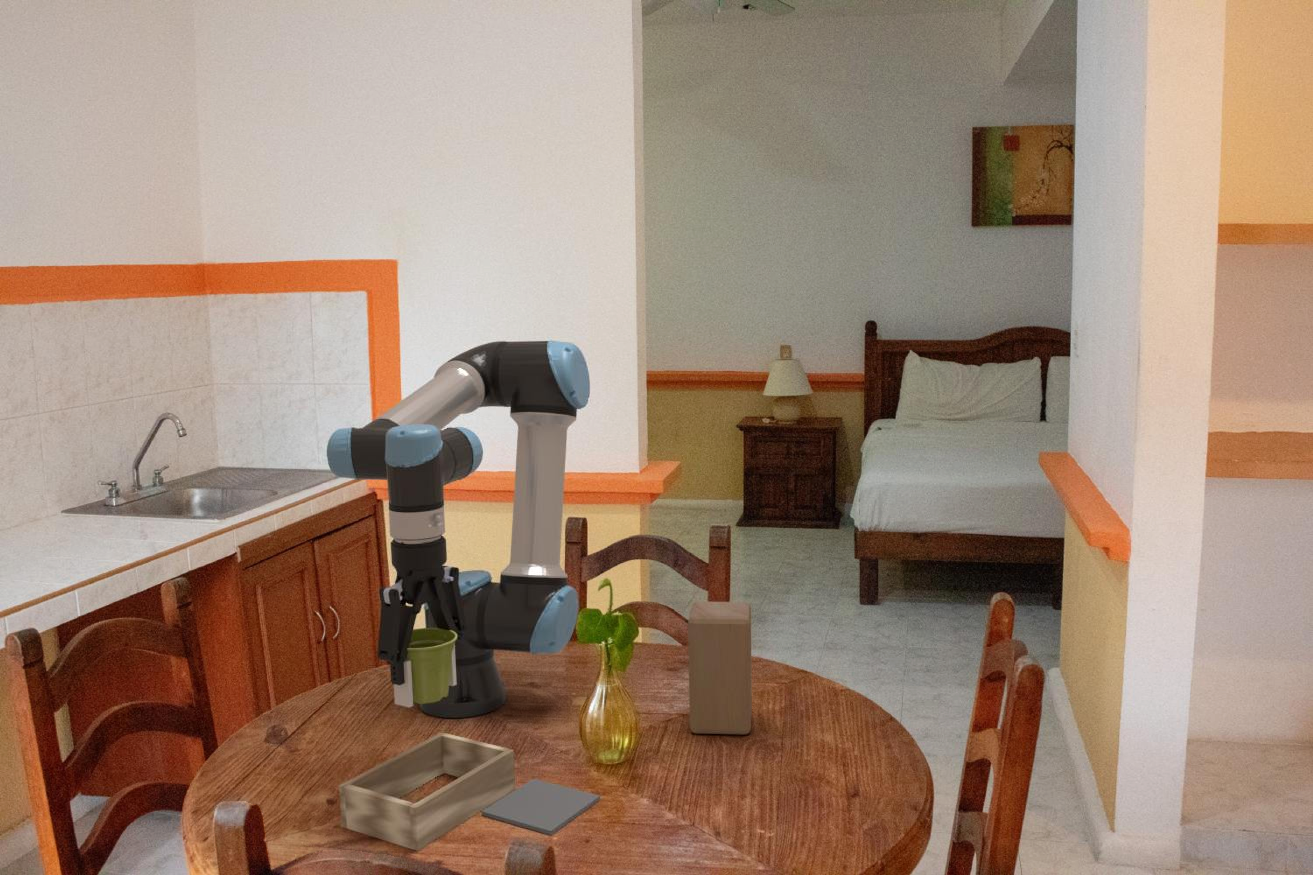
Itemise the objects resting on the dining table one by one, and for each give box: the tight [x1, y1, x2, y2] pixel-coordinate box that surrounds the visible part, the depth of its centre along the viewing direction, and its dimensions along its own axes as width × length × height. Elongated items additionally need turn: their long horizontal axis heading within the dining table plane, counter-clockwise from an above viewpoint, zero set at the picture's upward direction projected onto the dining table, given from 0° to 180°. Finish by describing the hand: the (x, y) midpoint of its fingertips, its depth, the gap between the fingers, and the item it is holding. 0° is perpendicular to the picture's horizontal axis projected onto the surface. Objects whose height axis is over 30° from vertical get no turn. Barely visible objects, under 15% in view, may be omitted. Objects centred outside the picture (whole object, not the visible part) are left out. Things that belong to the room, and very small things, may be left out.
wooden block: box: [687, 601, 753, 735], centre depth 191 cm, size 10×10×20 cm
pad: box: [481, 778, 601, 836], centre depth 163 cm, size 12×12×1 cm
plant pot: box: [397, 627, 457, 705], centre depth 161 cm, size 9×9×9 cm
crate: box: [338, 731, 516, 852], centre depth 164 cm, size 14×21×6 cm, turn 149°
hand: (426, 693), depth 162 cm, fingers closed on plant pot, 8 cm apart
